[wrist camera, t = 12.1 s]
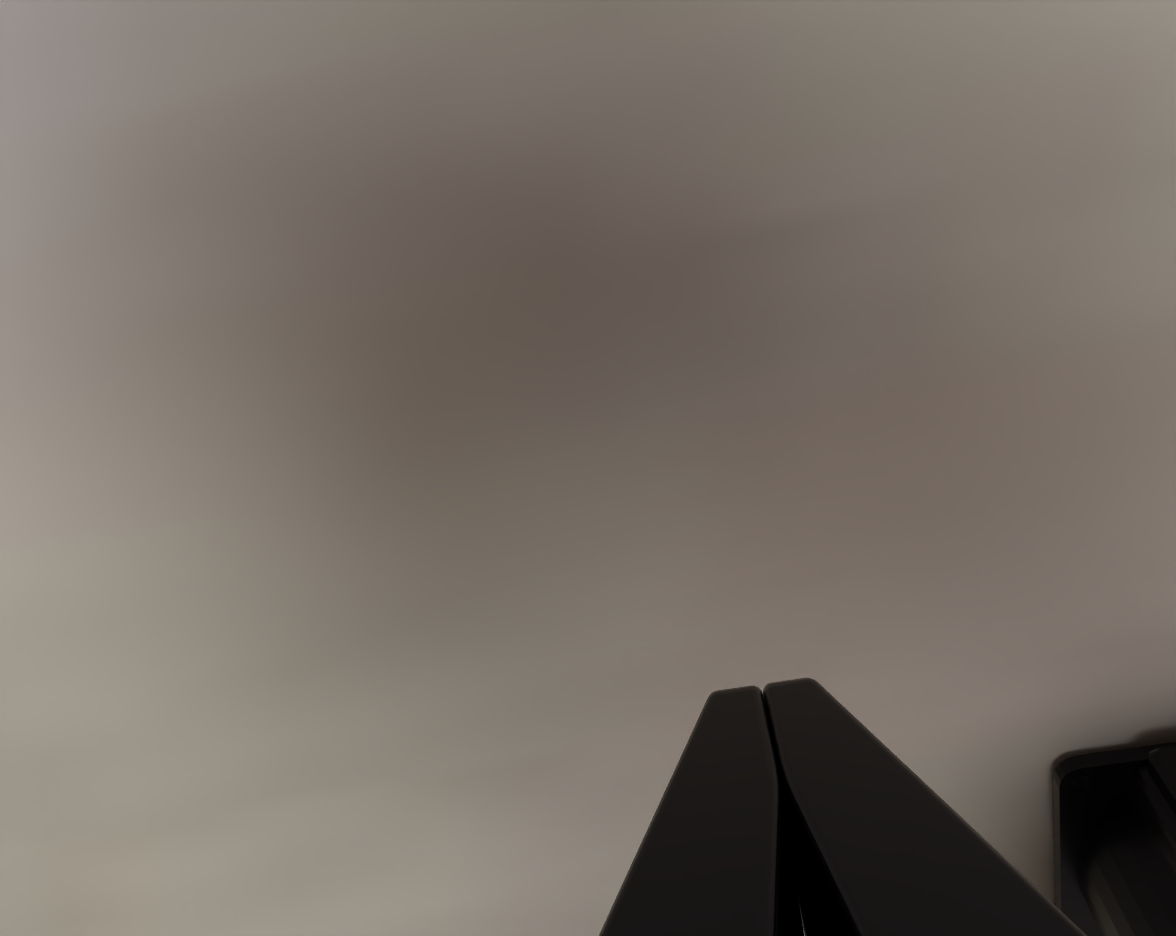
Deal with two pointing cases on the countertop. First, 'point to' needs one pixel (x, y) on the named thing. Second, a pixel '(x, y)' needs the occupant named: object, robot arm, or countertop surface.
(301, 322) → the countertop surface
